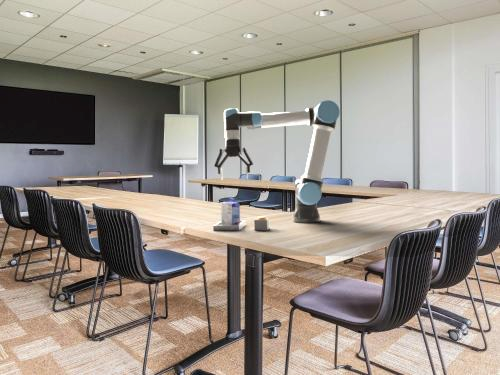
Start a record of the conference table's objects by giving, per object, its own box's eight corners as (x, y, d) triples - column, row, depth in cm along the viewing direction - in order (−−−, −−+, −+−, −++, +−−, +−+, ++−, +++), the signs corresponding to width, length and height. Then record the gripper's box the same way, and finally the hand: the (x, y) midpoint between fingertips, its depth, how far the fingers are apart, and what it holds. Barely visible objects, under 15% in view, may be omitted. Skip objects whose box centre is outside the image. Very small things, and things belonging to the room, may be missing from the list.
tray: (245, 225, 217) (245, 220, 217) (238, 230, 201) (238, 225, 200) (222, 225, 220) (221, 220, 220) (213, 230, 203) (213, 225, 203)
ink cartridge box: (240, 226, 208) (240, 198, 207) (232, 227, 205) (231, 198, 204) (229, 224, 216) (228, 197, 215) (221, 225, 212) (220, 198, 212)
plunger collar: (269, 228, 205) (269, 218, 204) (267, 230, 198) (267, 220, 198) (256, 228, 206) (256, 218, 206) (254, 230, 199) (254, 220, 199)
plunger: (266, 226, 203) (265, 216, 203) (265, 227, 200) (264, 217, 200) (259, 226, 204) (258, 216, 204) (257, 227, 201) (257, 217, 200)
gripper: (257, 138, 214) (258, 178, 215) (210, 140, 218) (212, 180, 219) (255, 137, 206) (257, 179, 207) (207, 139, 210) (209, 180, 211)
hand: (234, 179), depth 213 cm, fingers open, 13 cm apart
